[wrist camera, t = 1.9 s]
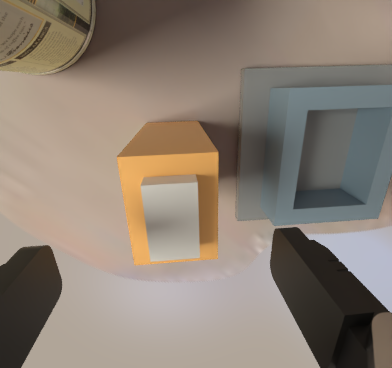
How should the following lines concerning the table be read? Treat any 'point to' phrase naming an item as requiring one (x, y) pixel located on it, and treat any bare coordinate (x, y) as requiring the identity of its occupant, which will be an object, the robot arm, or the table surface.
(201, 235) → the connector plug
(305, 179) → the holder
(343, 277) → the robot arm
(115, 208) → the table surface
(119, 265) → the table surface
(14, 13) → the coffee can
